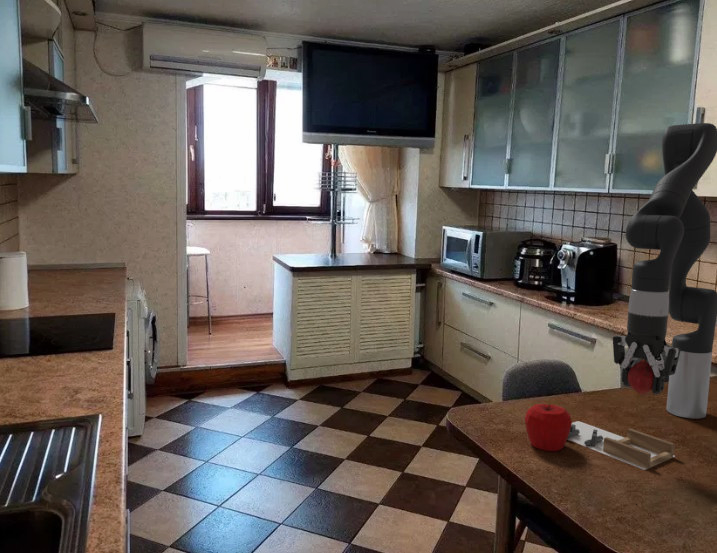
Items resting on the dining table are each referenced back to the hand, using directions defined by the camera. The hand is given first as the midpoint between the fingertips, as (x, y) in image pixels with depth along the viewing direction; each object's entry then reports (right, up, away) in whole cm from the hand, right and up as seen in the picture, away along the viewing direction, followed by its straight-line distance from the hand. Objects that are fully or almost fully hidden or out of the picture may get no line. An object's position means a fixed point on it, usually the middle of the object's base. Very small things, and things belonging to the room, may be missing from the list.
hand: (641, 388), depth 129 cm
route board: (-5, -15, +7) cm, 17 cm away
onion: (0, -1, 0) cm, 1 cm away
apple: (-18, -15, +6) cm, 24 cm away
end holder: (0, -14, +2) cm, 14 cm away
